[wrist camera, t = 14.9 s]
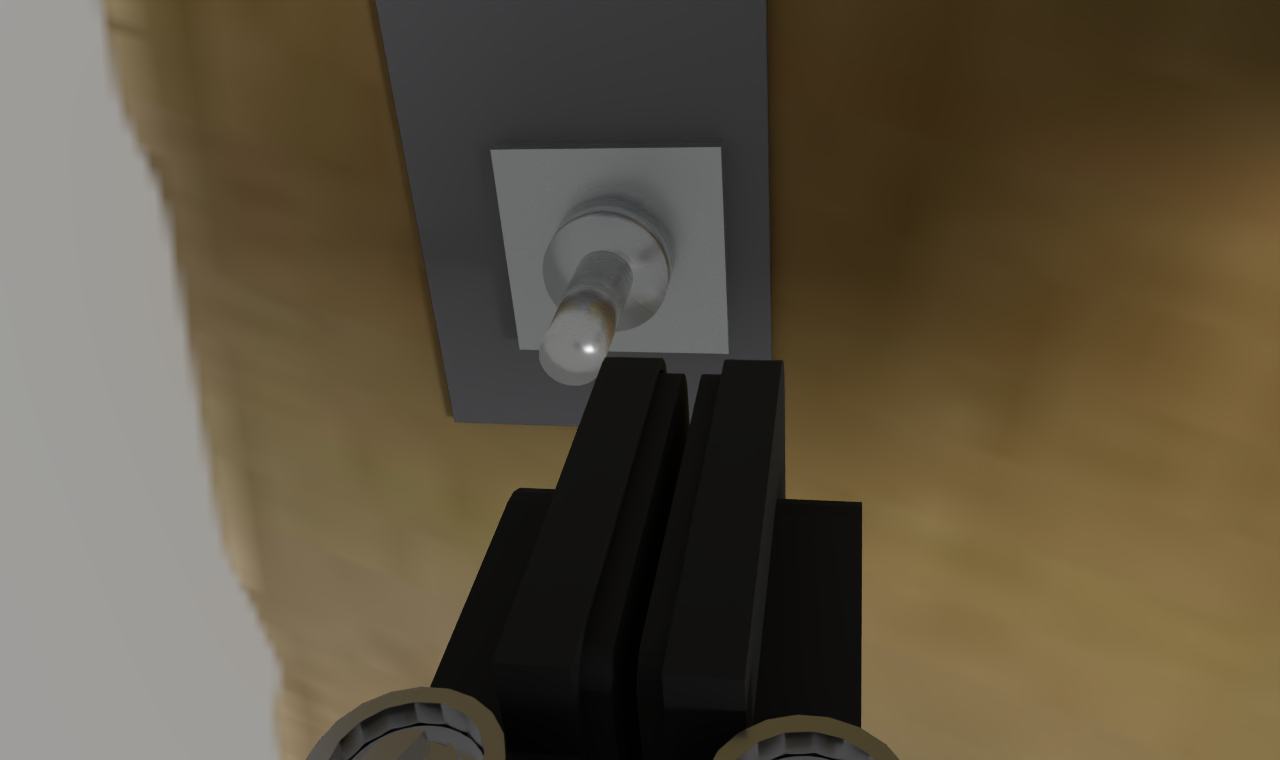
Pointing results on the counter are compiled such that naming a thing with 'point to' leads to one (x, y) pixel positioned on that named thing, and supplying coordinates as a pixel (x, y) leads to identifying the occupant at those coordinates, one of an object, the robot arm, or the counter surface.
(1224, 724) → the counter surface
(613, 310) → the stand
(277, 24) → the counter surface
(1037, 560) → the counter surface
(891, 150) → the counter surface
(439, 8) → the bench mat
